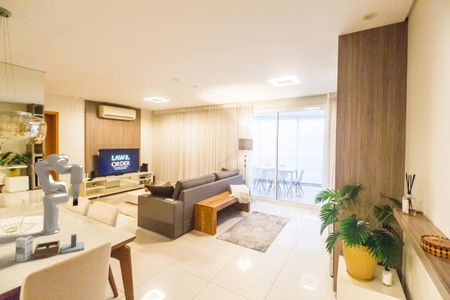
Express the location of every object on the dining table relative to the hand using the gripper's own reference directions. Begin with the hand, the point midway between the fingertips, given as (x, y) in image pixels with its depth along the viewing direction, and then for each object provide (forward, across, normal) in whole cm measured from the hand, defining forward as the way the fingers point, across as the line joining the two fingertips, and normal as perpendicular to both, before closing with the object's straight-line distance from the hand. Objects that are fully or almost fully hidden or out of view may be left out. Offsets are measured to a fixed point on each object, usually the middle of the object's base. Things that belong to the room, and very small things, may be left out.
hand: (75, 204), depth 158 cm
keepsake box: (+28, +14, -14) cm, 35 cm away
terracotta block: (+28, +14, -11) cm, 33 cm away
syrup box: (+28, +16, -25) cm, 41 cm away
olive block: (+28, +14, -17) cm, 35 cm away
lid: (+28, +14, 0) cm, 31 cm away
